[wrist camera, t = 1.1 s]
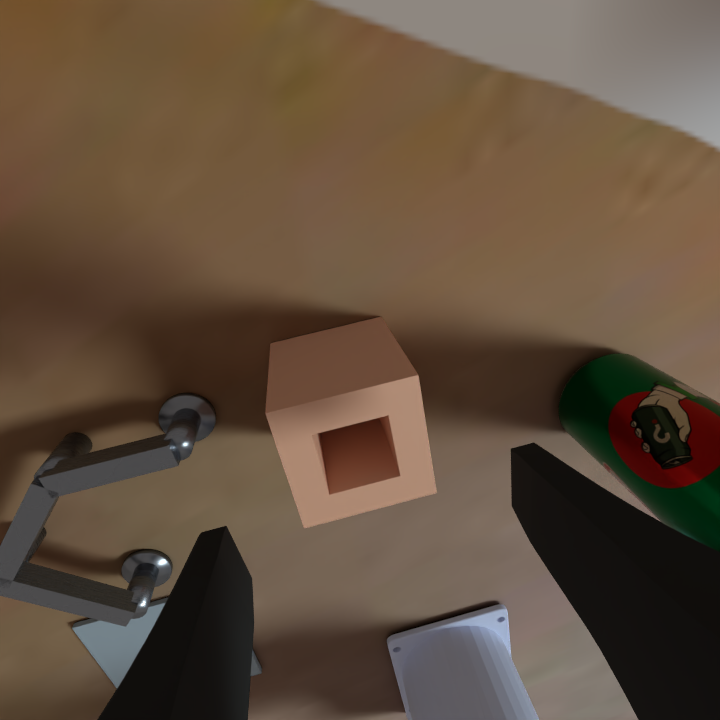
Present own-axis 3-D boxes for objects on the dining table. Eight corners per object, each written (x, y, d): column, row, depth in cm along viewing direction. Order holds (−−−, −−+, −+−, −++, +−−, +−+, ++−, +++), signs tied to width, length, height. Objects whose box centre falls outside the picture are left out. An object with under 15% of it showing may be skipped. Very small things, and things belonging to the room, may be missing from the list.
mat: (261, 668, 28) (261, 673, 28) (134, 704, 27) (133, 710, 27) (220, 583, 24) (219, 587, 24) (74, 622, 24) (72, 628, 24)
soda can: (542, 435, 24) (757, 662, 13) (565, 348, 22) (843, 530, 11) (625, 432, 25) (892, 644, 14) (655, 348, 23) (995, 518, 12)
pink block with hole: (398, 410, 22) (436, 492, 16) (299, 436, 21) (304, 528, 16) (381, 316, 20) (418, 374, 14) (270, 343, 19) (265, 413, 14)
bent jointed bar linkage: (270, 551, 24) (269, 600, 21) (70, 605, 23) (42, 663, 21) (205, 387, 20) (193, 422, 17) (-44, 448, 19) (-98, 495, 16)
